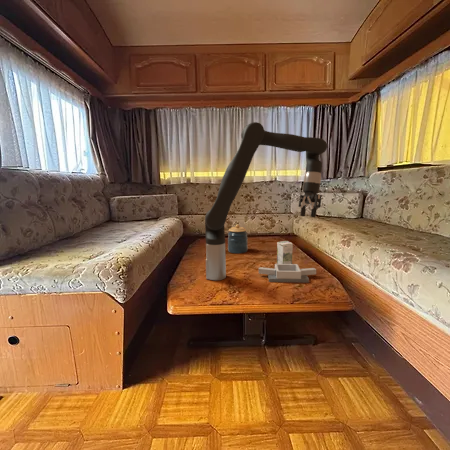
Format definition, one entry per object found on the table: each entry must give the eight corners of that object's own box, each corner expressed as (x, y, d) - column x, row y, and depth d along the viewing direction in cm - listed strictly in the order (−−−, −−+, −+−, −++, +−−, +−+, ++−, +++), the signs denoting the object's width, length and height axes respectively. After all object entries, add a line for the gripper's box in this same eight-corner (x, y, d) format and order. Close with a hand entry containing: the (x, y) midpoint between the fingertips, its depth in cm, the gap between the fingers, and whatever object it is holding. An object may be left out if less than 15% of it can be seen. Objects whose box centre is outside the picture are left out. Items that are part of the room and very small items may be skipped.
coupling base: (258, 281, 129) (258, 271, 128) (258, 272, 141) (258, 263, 140) (319, 282, 127) (319, 272, 126) (313, 273, 138) (314, 263, 138)
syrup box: (285, 266, 149) (286, 240, 147) (292, 270, 144) (292, 242, 141) (276, 268, 147) (276, 241, 145) (282, 271, 142) (283, 244, 139)
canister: (239, 247, 191) (238, 222, 188) (251, 251, 181) (251, 224, 178) (223, 250, 184) (223, 224, 181) (236, 255, 173) (235, 227, 170)
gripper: (296, 182, 138) (292, 215, 138) (314, 180, 124) (309, 216, 125) (309, 184, 140) (305, 216, 141) (328, 182, 127) (323, 218, 127)
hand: (307, 216), depth 133 cm, fingers open, 8 cm apart
